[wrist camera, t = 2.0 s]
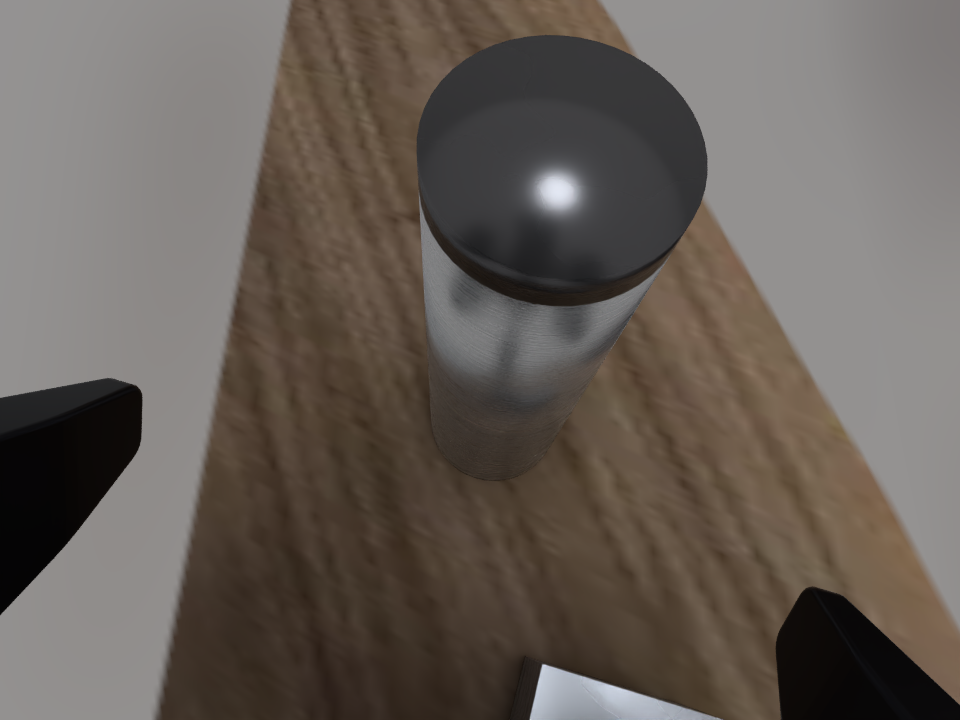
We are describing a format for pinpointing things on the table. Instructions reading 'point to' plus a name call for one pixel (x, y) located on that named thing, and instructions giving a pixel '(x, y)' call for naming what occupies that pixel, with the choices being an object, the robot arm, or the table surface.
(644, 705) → the v block
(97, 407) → the robot arm
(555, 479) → the table surface
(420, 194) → the axle
